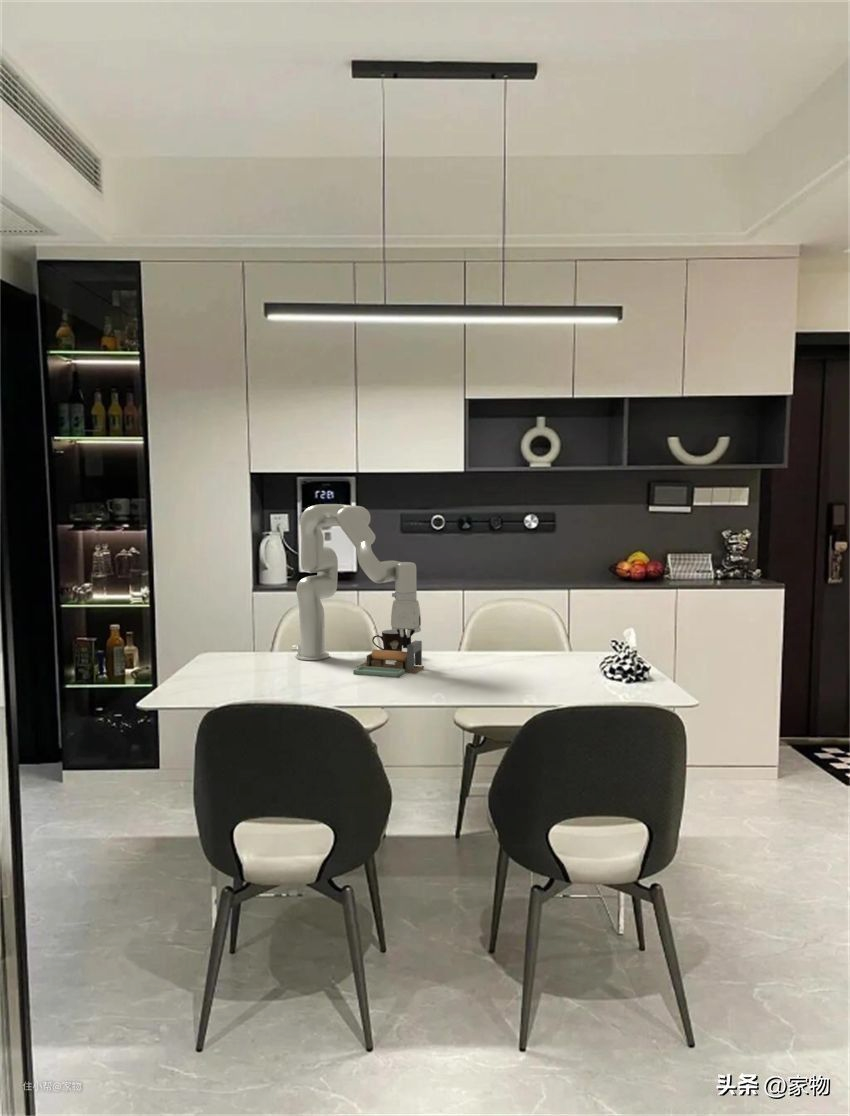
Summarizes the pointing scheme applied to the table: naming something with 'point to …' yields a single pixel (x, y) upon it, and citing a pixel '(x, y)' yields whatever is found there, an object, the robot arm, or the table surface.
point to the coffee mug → (390, 640)
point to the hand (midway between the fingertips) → (406, 647)
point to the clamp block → (390, 665)
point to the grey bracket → (411, 649)
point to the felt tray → (379, 671)
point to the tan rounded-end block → (389, 655)
